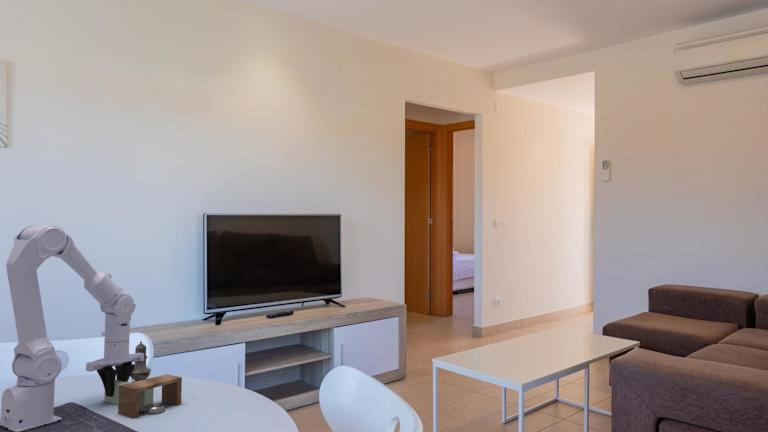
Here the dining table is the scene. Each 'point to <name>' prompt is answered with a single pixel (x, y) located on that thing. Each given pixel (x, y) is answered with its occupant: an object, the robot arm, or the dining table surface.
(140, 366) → the salt shaker
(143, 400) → the bar
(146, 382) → the wooden bridge block
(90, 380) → the dining table surface
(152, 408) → the disc
